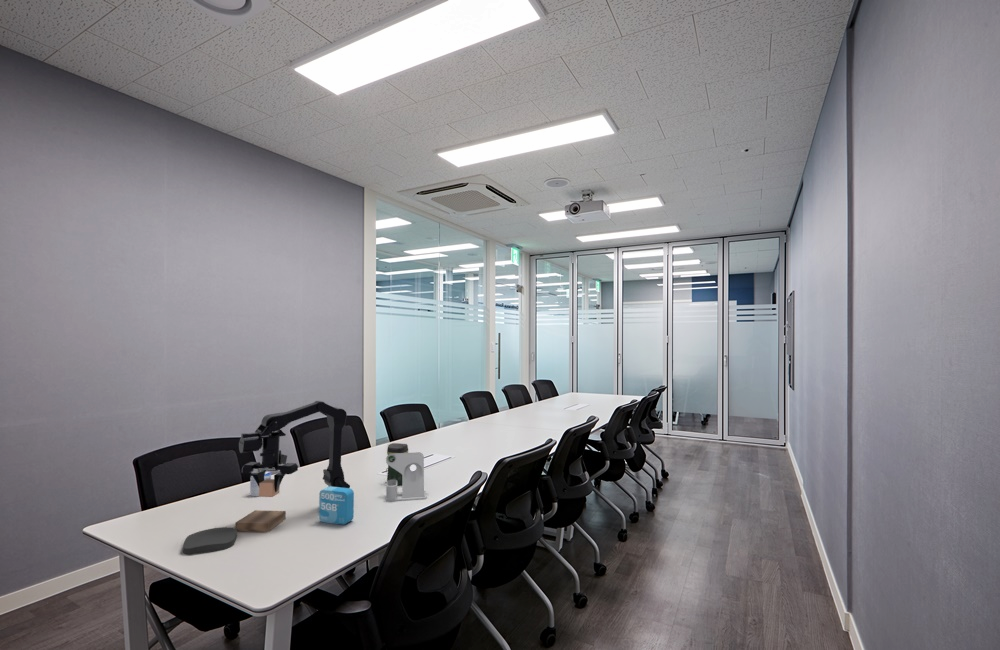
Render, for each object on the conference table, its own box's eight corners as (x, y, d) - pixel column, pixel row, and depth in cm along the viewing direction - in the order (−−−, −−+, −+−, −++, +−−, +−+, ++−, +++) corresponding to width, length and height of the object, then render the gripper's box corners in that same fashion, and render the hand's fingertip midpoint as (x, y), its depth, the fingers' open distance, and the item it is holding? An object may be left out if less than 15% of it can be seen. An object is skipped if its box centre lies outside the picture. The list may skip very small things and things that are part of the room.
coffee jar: (410, 481, 225) (410, 442, 226) (403, 486, 217) (403, 445, 218) (392, 479, 227) (392, 441, 228) (384, 484, 220) (384, 444, 220)
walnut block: (285, 519, 177) (285, 511, 177) (268, 531, 165) (268, 523, 165) (254, 518, 178) (254, 510, 178) (235, 531, 166) (235, 522, 166)
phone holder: (385, 502, 196) (385, 458, 197) (385, 494, 206) (386, 453, 207) (427, 499, 200) (427, 456, 200) (425, 491, 210) (426, 451, 210)
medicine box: (258, 497, 202) (259, 476, 202) (249, 496, 203) (250, 476, 203) (271, 491, 210) (271, 471, 210) (262, 490, 211) (262, 471, 211)
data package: (318, 521, 175) (319, 489, 175) (326, 517, 179) (326, 485, 179) (346, 525, 171) (347, 492, 172) (353, 520, 176) (354, 488, 176)
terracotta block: (279, 492, 176) (279, 479, 177) (272, 497, 171) (272, 483, 172) (266, 492, 177) (266, 479, 177) (258, 496, 172) (259, 482, 172)
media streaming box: (179, 557, 146) (180, 548, 146) (189, 539, 160) (189, 530, 160) (233, 549, 152) (233, 540, 152) (238, 532, 166) (238, 524, 166)
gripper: (305, 445, 182) (304, 485, 182) (258, 443, 183) (257, 484, 183) (291, 451, 171) (289, 494, 171) (241, 450, 172) (240, 493, 172)
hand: (269, 491), depth 174 cm, fingers closed on terracotta block, 5 cm apart
